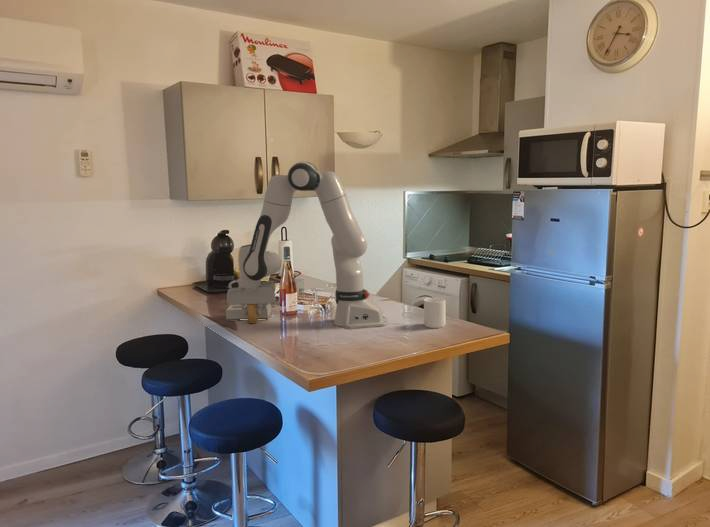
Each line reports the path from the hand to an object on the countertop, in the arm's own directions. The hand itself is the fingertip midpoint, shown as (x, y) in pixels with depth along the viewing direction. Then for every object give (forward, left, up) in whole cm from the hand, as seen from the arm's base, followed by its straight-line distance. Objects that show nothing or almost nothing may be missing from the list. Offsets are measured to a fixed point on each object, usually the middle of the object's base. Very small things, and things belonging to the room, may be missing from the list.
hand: (252, 314), depth 230 cm
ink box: (-14, -37, -4) cm, 40 cm away
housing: (+3, -10, -4) cm, 11 cm away
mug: (-77, +12, -4) cm, 78 cm away
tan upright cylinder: (0, 0, -4) cm, 4 cm away
